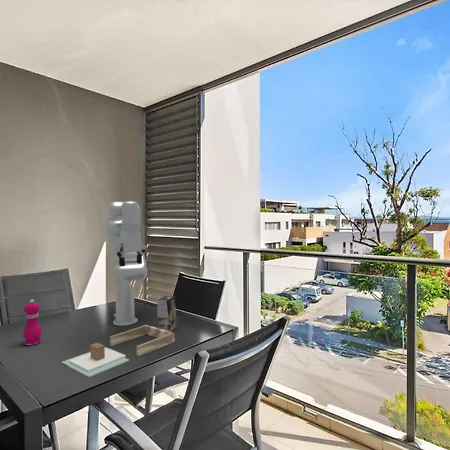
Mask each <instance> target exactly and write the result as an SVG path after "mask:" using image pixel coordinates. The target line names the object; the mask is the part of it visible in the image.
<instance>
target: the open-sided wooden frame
mask: <svg viewBox="0 0 450 450" xmlns="http://www.w3.org/2000/svg"><path fill="white" fill-rule="evenodd" d="M144 335H146V336H149V337H153V338H154V339H151V340H149V341H147V342H144V343H141V344H139V345H136V347H135V348H136V349H135V351H136V357H138V358H140V357H142V356H144V355H147V354H149V353H151V352H154V351H156V350H158V349H161V348H164V347H165V346H169V345H171V344H172V343H175V342H176V337H175V336H176V335H175V332H173V331H171V332H169V331H166V330H163V329H159V328H158V327H155V326H153V325H152V326H151V325H148V324H143V325H141V326H139V327H136V328H135V327H134V328H131V329H130V330H126V331H123V332H119V333H116V334H113V335H111V336H109V347H114V346H117V345H120V344H123V343H126V342H128V341H130V340H133V339H136V338H139V337H142V336H144Z"/></svg>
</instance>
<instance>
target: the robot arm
mask: <svg viewBox="0 0 450 450" xmlns="http://www.w3.org/2000/svg"><path fill="white" fill-rule="evenodd" d="M107 207H108V208H107V212H108V213H107V214H108V216H109V218H110V219H115V220H111V221H109V222H108V223H107V225H106V226H107V228H106V230H107V235H108V238H109V240H110V242H111V244H112V247H113V256H114V261H115V264H117V265H115V266H114V267H113V270H112V271H113V279H114V285H115V286H114V287H115V289H114V290H115V313H114V314H113V317H114V318H115V319H114V320H113V321H112V322H113V323H112V324H113V325H115V326H118V327H120V326H121V327H125V326H132V325H134V324H136V323H137V322H138V319H139V318H137V317H135V315H136V314H135V288H134V287H133V285H132V284H131V283H130V282H132V281H133V282H134V281H143V280H145V279H147V277H148V268H147V262H146V258H145V257H146V256H145V252H146V249H147V245H146V244H144V243H142V236H141V231H140V229H141V225H140V223H141V218H142V212H141V208H140V205H139V203H138V202H136V201H112V202H111V201H110V203H109V205H108V206H107Z"/></svg>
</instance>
